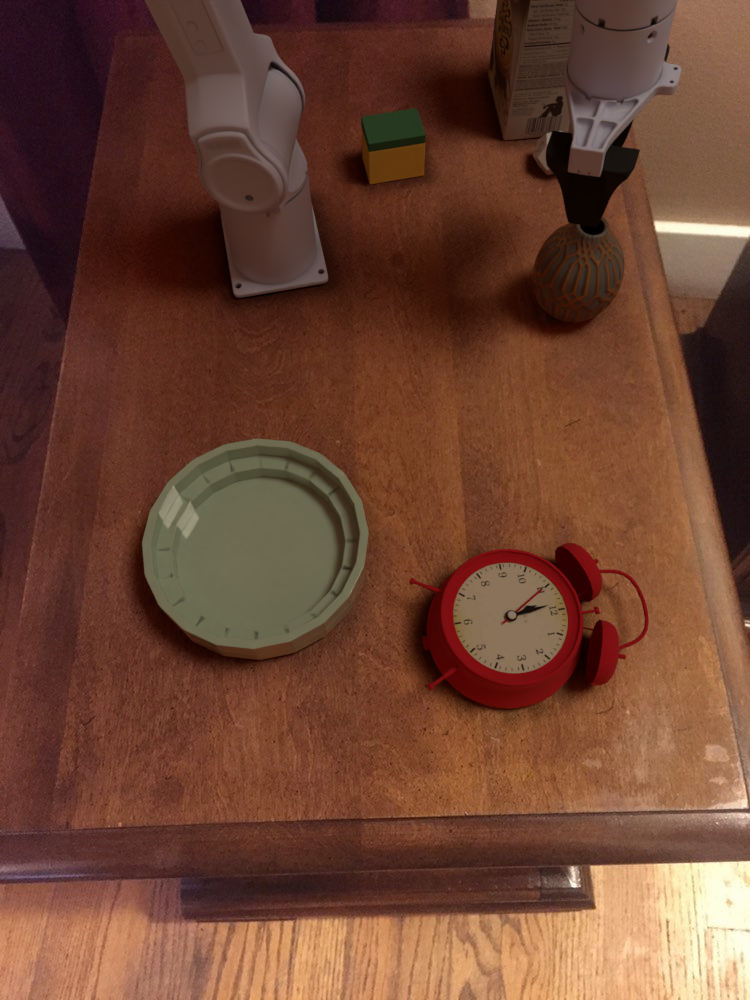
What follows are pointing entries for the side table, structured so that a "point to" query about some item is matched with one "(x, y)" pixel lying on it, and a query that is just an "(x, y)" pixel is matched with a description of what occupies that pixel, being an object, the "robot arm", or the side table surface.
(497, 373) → the side table surface
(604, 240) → the vase
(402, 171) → the sponge
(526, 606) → the alarm clock
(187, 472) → the bowl
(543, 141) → the game die
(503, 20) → the coffee box
